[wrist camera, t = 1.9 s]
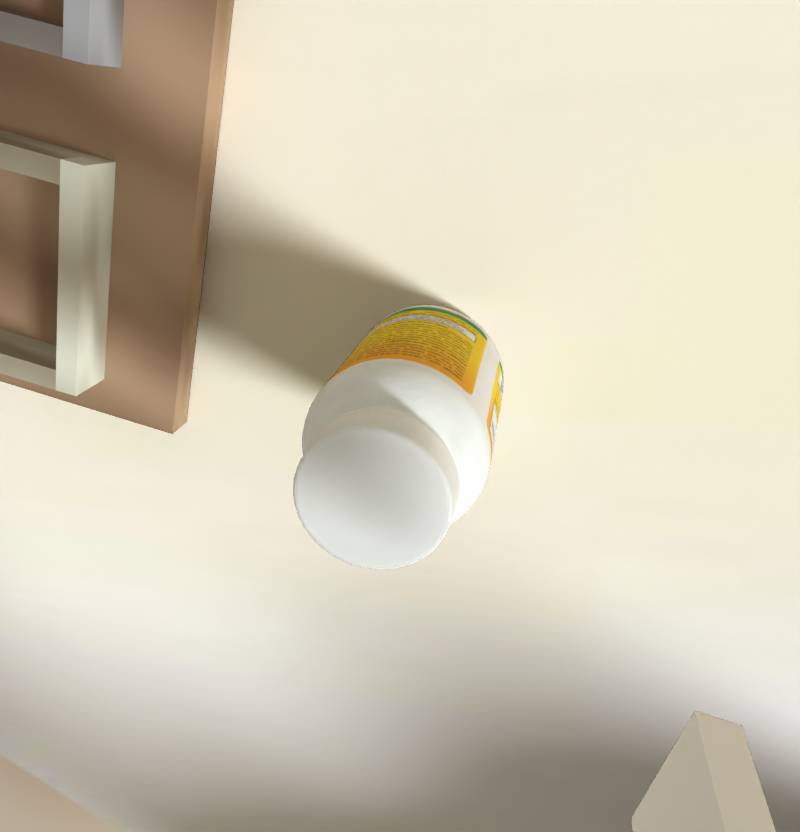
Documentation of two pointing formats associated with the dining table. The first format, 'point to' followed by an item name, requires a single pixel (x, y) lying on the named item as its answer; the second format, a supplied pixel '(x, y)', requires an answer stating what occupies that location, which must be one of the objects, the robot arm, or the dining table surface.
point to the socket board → (107, 197)
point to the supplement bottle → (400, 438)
